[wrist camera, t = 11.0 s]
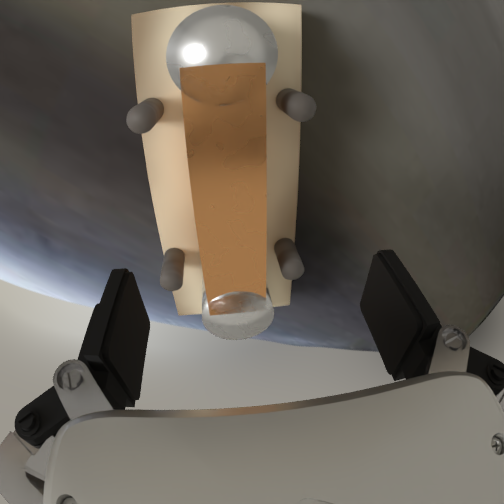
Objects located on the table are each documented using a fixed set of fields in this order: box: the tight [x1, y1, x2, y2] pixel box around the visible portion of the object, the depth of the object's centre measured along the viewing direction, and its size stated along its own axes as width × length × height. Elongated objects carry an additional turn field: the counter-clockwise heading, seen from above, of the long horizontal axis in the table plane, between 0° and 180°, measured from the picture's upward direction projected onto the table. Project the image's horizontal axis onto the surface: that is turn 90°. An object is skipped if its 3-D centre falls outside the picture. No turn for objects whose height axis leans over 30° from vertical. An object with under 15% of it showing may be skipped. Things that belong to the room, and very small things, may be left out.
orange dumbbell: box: [166, 5, 278, 340], centre depth 18 cm, size 5×22×4 cm, turn 1°
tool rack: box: [127, 2, 316, 315], centre depth 20 cm, size 10×24×5 cm, turn 1°
